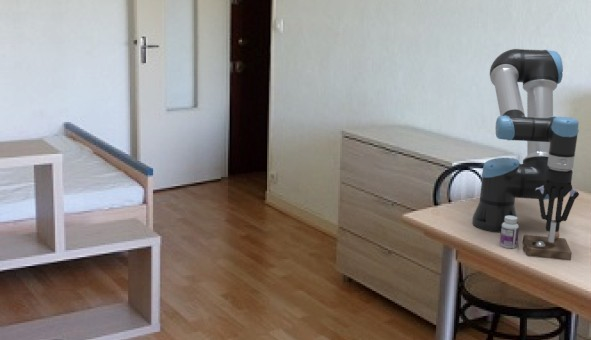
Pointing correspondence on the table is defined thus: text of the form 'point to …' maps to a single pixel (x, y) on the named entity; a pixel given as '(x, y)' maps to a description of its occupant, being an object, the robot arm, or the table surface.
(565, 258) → the brown flat square slab
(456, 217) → the table surface
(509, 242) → the pill bottle
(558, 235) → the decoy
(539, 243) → the ball
